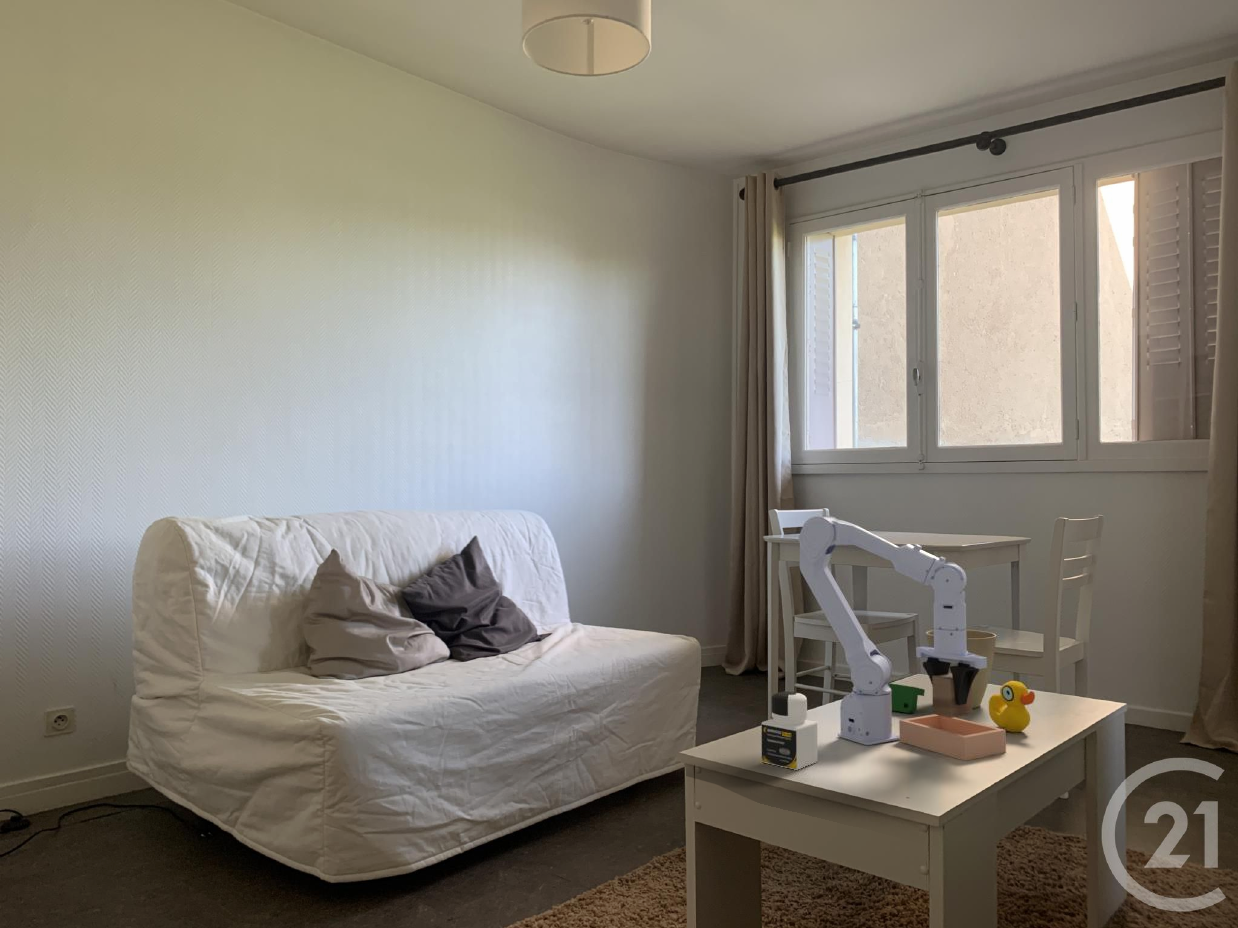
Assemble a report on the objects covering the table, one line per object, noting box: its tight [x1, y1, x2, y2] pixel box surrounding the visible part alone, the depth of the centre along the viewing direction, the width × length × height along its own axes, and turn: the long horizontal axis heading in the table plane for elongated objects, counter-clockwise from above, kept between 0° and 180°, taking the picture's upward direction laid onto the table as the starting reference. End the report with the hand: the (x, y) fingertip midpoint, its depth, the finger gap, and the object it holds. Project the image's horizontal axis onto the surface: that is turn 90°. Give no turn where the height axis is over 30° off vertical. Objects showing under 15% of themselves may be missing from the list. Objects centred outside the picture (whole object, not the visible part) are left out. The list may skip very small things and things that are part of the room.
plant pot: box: [925, 629, 997, 709], centre depth 206 cm, size 15×15×16 cm
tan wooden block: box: [932, 673, 973, 718], centre depth 171 cm, size 6×4×7 cm, turn 121°
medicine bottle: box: [761, 691, 819, 771], centre depth 160 cm, size 7×7×12 cm
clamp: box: [887, 682, 925, 714], centre depth 202 cm, size 12×6×9 cm, turn 38°
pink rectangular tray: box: [898, 713, 1007, 761], centre depth 170 cm, size 11×15×4 cm
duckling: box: [988, 680, 1036, 733], centre depth 182 cm, size 11×5×10 cm, turn 19°
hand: (951, 701), depth 170 cm, fingers closed on tan wooden block, 4 cm apart
